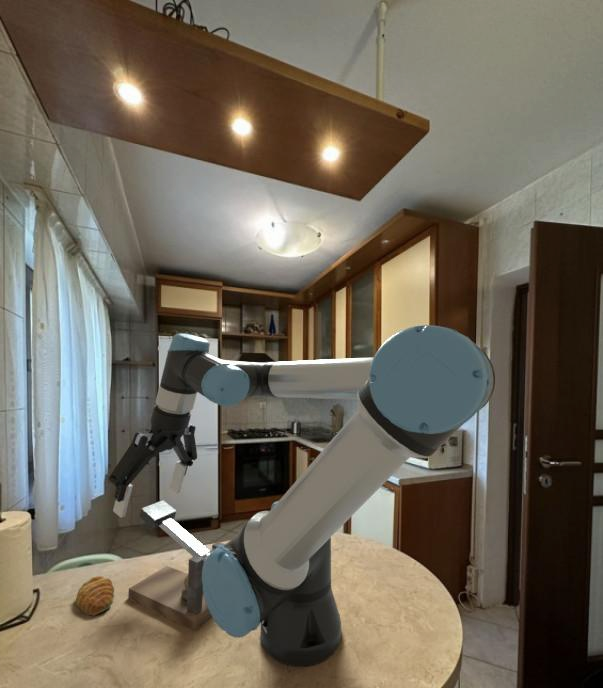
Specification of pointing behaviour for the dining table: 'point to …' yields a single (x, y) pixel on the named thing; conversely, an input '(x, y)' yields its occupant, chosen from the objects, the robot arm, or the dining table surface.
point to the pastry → (95, 595)
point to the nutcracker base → (176, 593)
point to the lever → (172, 528)
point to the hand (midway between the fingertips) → (149, 500)
